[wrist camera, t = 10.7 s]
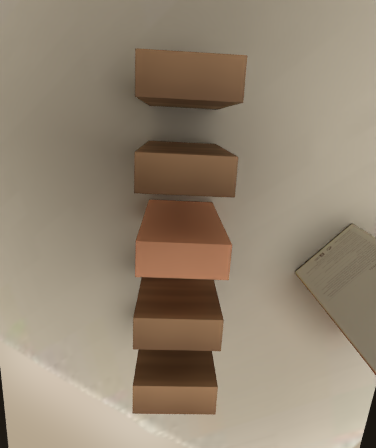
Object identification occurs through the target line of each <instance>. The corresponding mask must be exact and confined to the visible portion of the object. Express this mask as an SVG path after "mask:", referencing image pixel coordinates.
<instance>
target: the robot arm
mask: <svg viewBox="0 0 376 448" xmlns="http://www.w3.org/2000/svg"><path fill="white" fill-rule="evenodd" d="M0 448H8V439H7V430H6V419H5V410H4V400H3V390H2V380H1V371H0ZM360 448H376V388H375V392H374V395H373V399H372V403H371V407H370V411H369V414H368V418H367V422H366V426H365V430H364V433H363V437H362V441H361V445H360Z"/></svg>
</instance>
